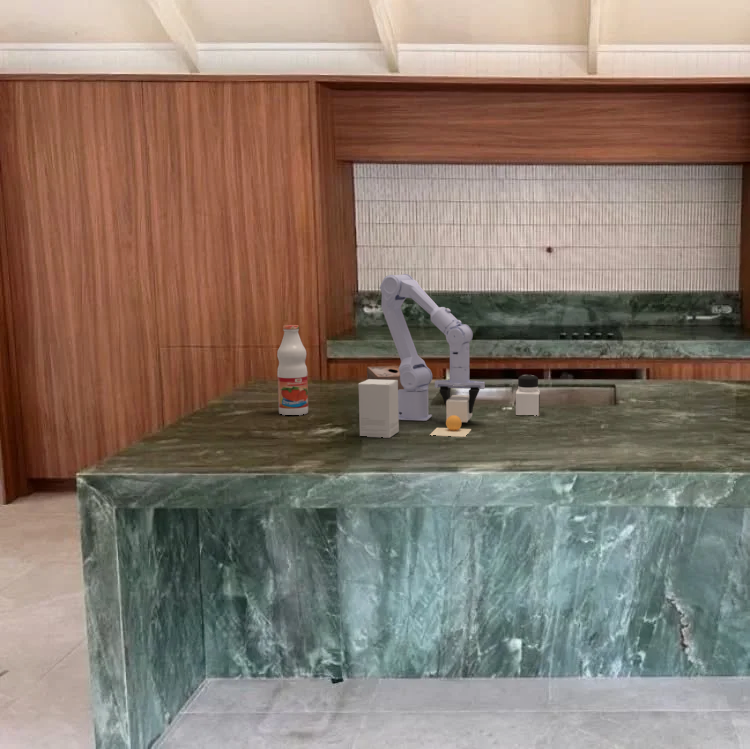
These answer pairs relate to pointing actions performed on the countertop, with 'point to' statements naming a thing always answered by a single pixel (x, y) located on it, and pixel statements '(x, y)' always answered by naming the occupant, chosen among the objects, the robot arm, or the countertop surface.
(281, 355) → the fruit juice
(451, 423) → the ball
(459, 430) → the mark
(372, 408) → the supplement box
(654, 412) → the countertop surface
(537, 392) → the medicine bottle
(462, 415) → the white rectangular prism
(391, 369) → the tissue box cover
